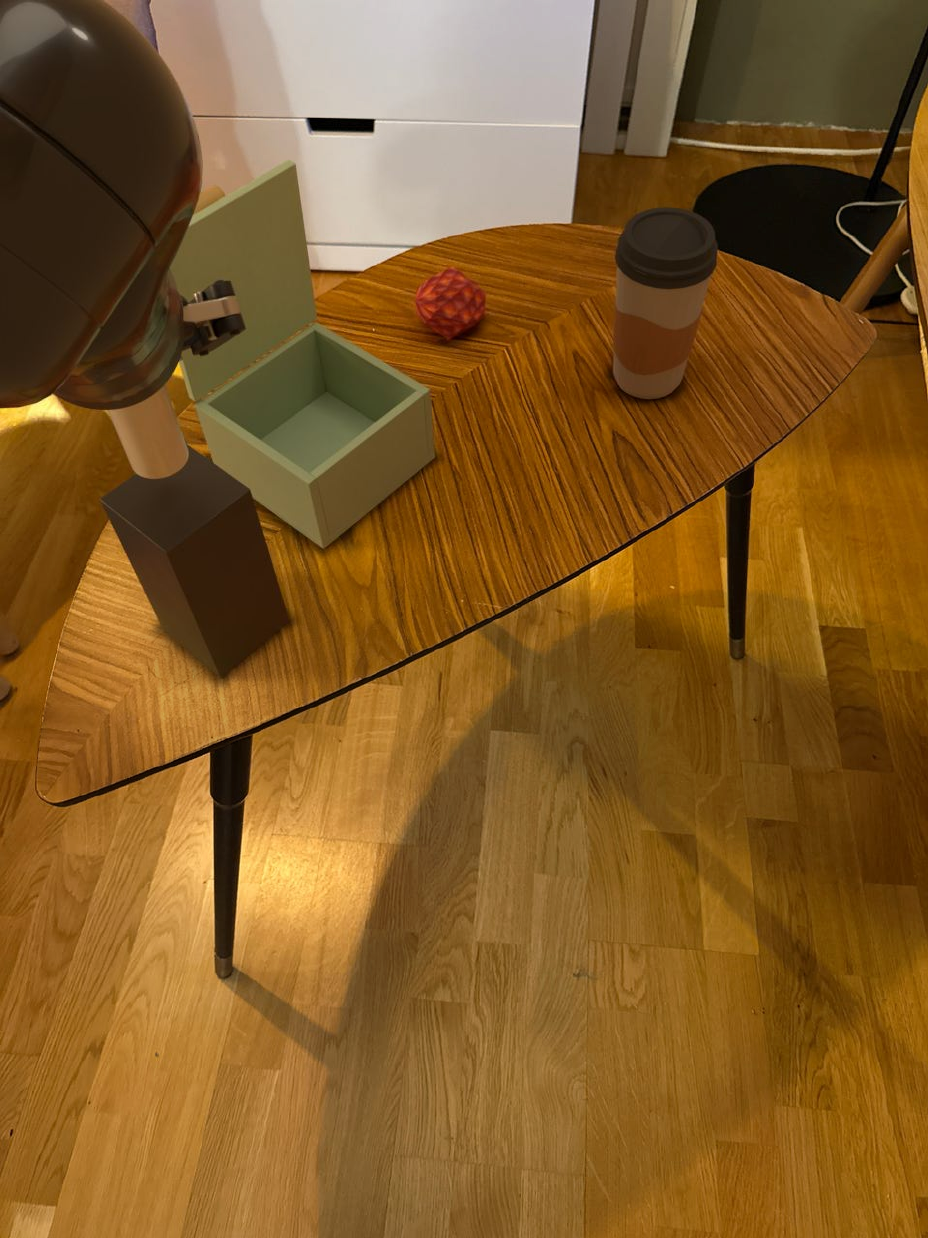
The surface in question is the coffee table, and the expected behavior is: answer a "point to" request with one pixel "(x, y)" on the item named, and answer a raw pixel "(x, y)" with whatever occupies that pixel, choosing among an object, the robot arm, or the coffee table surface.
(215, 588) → the block
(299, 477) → the chest
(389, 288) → the coffee table surface
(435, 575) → the coffee table surface
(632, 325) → the coffee cup
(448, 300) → the red faceted ball
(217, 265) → the chest lid
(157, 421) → the canister
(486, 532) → the coffee table surface
